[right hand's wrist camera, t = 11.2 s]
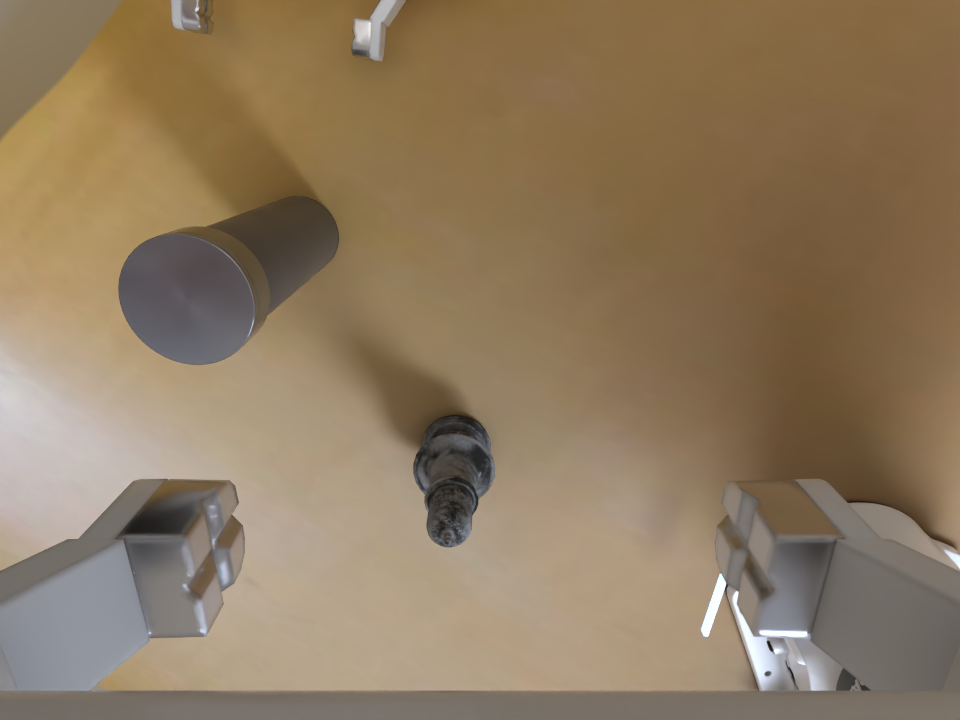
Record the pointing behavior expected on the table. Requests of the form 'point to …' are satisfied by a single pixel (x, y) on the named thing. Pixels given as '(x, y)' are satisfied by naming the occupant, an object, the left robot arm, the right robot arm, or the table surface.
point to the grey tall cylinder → (286, 242)
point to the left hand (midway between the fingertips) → (280, 45)
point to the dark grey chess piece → (453, 476)
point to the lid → (194, 294)
